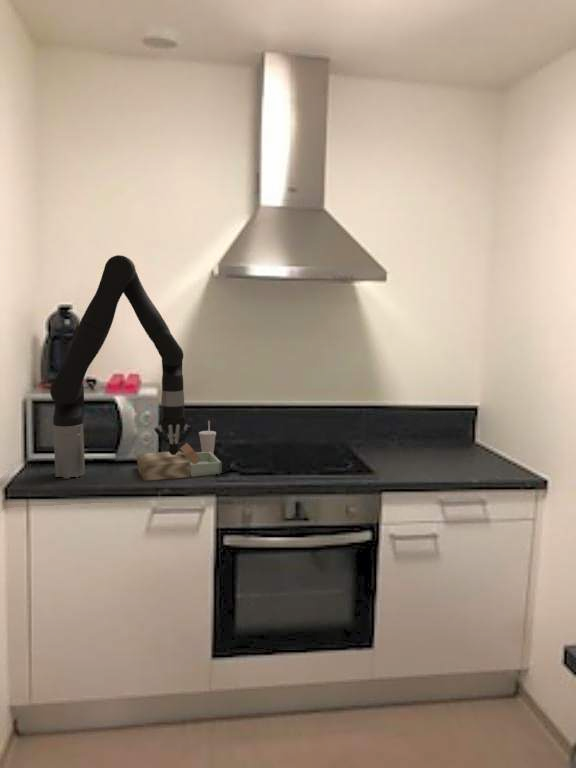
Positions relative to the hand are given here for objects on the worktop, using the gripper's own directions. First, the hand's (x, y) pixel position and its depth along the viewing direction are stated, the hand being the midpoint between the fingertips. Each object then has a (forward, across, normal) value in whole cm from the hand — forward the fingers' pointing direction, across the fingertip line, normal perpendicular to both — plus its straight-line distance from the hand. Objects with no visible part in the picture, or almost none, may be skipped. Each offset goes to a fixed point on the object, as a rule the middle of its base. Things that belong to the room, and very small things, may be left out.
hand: (173, 454), depth 218 cm
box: (+6, +10, 0) cm, 11 cm away
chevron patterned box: (+6, -4, 0) cm, 7 cm away
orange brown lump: (+2, +5, +1) cm, 5 cm away
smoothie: (+6, +15, +14) cm, 22 cm away
